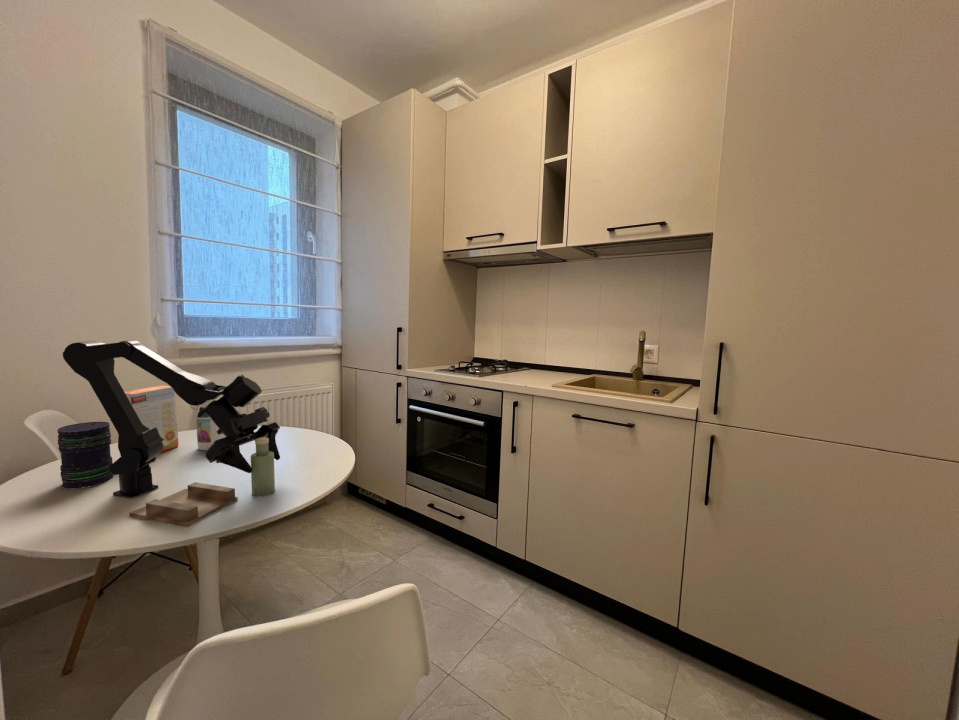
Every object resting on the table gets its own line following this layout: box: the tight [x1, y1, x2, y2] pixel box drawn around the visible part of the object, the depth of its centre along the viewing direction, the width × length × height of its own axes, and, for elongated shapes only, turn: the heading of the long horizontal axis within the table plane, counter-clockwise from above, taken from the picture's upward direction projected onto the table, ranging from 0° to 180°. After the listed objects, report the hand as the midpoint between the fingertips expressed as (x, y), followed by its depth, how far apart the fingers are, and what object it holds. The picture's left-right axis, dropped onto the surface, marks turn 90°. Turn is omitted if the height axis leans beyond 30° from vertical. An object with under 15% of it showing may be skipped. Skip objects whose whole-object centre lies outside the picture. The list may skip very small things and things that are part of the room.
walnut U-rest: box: [129, 482, 238, 528], centre depth 91 cm, size 16×13×3 cm
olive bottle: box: [250, 437, 276, 498], centre depth 100 cm, size 5×5×14 cm
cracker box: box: [124, 385, 179, 453], centre depth 125 cm, size 14×6×21 cm, turn 169°
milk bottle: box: [196, 398, 225, 451], centre depth 131 cm, size 8×8×20 cm
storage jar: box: [57, 421, 114, 489], centre depth 103 cm, size 10×10×15 cm
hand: (265, 465), depth 99 cm, fingers open, 9 cm apart
